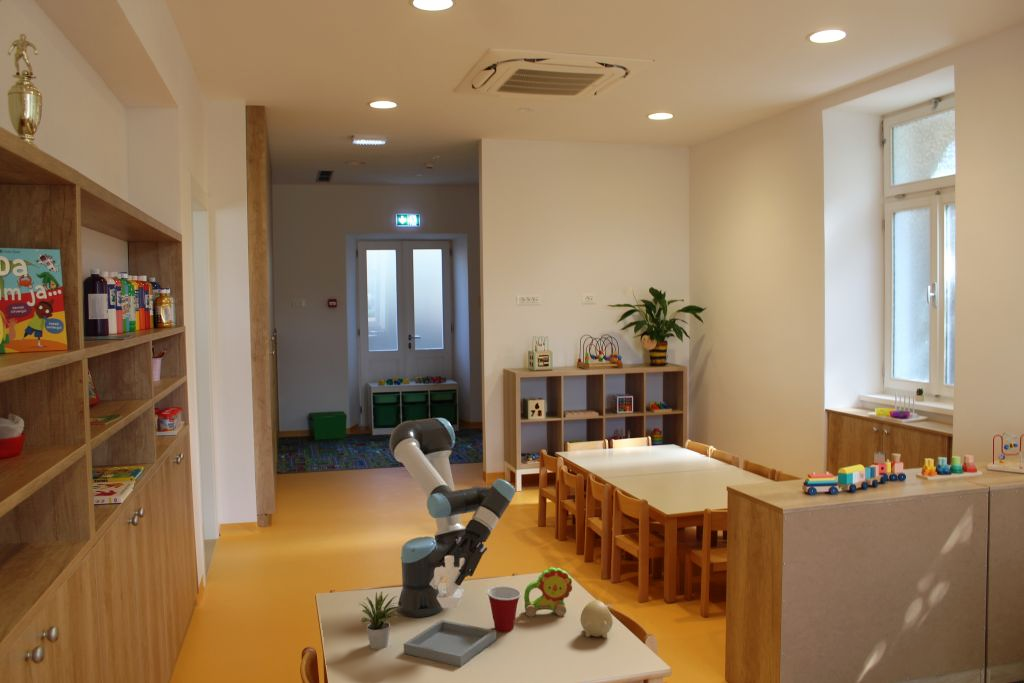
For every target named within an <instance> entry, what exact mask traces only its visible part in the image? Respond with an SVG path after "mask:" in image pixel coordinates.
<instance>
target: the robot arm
mask: <svg viewBox="0 0 1024 683" xmlns="http://www.w3.org/2000/svg"><path fill="white" fill-rule="evenodd" d="M455 444H456V434H455V431H454V427H453V426H452V425H451V423H450V421H449V420H448V419H446V418H443V417H432V418H424V419H414V420H406V421H402V422H401V423H399V424H398V425H397V426H396V427H394V429H393V431H392V432H391V434H390V438H389V449H390V452H391V454H392V456H393V458H394V459H395V461H397V462H399V463H402V465H403V466H404V467H405V469H406V470H407V471H408V474H410V475H411V477H412V479H414V482H416V484H417V485H418V487H419V488H420V489H421V491H422V492H423V493H424V495H425V496H426V498H427V500H426V509H427V510H428V511H427V512H428V514H429V516H430V517H432V518H433V519H435V522H436V526H437V527H436V528H437V530H436V532H435V534H434V537H432V536H420V537H414V538H412V539H409V540H408V541H406V542H405V543H404V544H403V545H402V547H401V556H400V560H401V578H402V579H401V581H402V582H401V583H402V585H401V586H402V587H401V592H400V595H399V599H398V602H397V607H399V608H397V613H398V614H399V615H400V616H405V617H407V618H408V617H409V618H423V617H430V616H433V615H437V614H439V613H440V612H441V611H443V609H444V608H442V607H441V605H440V603H439V602H438V600H437V598H436V597H437V595H438V594H439V592H440V589H439V586H440V584H441V582H442V581H443V579H444V578H445V577H440V584H439V585H438V586H436V585H435V583H434V570H435V568H436V567H445V556H449V555H451V556H454V567H459V566H460V558H464V559H465V562H464V564H463V565H462V567H461V569H460V570H459V572H460V573H459V572H457V573H456V575H455V576H454V578H453V580H452V581H451V583H450V584H449V586H448V588H447V589H446V588H445V589H446V592H447V593H448V594H450V595H451V596H453V595H454V593H455V591H456V590H457V589H459V586H461V585H462V583H463V582H464V581H465V578H467V577H468V576H469V577H473V575H474V573H475V572H476V569H477V567H478V565H479V563H480V561H481V559H482V557H483V555H484V554H485V552H487V550H488V547H487V546H486V545H485V544H484V543H486V542H487V540H488V539H489V537H490V536H491V533H492V532H491V531H494V529H495V527H496V525H497V524H498V522H499V520H500V519H501V517H502V515H503V514H504V513H505V511H506V510H507V508H508V506H509V505H510V504H511V502H512V500H513V497H514V496H515V494H516V489H515V487H514V486H513V485H512V483H510V482H509V481H507V480H504V479H501V478H497V479H496V480H494V482H493V483H492V485H491V486H481V485H477V486H471V487H469V488H463V489H455V484H454V479H453V475H452V468H451V464H450V460H449V458H450V455H452V448H453V447H454V446H455ZM473 512H474V513H473ZM468 513H469V514H470V513H473V515H472V516H471V519H470V520H469V521H468V522H467V524H466V526H464V525H463V524H462V519H461V515H463V514H468Z"/></svg>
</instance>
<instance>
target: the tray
mask: <svg viewBox="0 0 1024 683" xmlns="http://www.w3.org/2000/svg"><path fill="white" fill-rule="evenodd" d="M496 641H497V630H496V629H489V628H484V627H479V626H474V625H469V624H465V623H459V622H455V621H448V620H444V619H440V620H439V621H437V622H436V623H433V625H431V626H429V627H428V628H426V629H424V630H423V631H421V632H420V633H418V634H416V635H415V636H413V637H412V638H411V639H409V640H407V641H405V642H404V643H403V654H404V655H408V656H412V657H417V658H420V659H421V658H422V659H426V660H430V661H434V662H437V663H438V662H439V663H443V664H447V665H450V666H454V667H460V668H462V667H463V666H465V665H466V664H467V663H468V662H470V661H471V660H472V659H474V658H475V657H477V656H478V655H479V654H480V653H482V652H483V651H485V649H487V648H488V647H490V646H491V645H492V644H494V643H495V642H496Z"/></svg>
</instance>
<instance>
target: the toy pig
mask: <svg viewBox="0 0 1024 683" xmlns="http://www.w3.org/2000/svg"><path fill="white" fill-rule="evenodd" d="M579 619H580V620H579V621H580V624H581V627H582V629H583V630H584V632H585V636H586V637H587V638H589V637H595V638H597V637H599V638H600V637H602V638H605V639H606V638H607V636H608V633H609V632H610V631H611V629H612V627H613V624H614V621H613V616H612V613H611V611H610V609H609V608H608V606H607V605H606V603H604V602H603V601H601V600H599V599H598V600H597V599H596V600H595V599H594V600H591V601H590V602H588V603H587V604H586V605H585V606H584V608H583V609H582V611H581V614H580V618H579Z"/></svg>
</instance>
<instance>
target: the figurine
mask: <svg viewBox="0 0 1024 683" xmlns="http://www.w3.org/2000/svg"><path fill="white" fill-rule="evenodd" d="M464 562H465V559H464V558H460V566H459V567H454V556H451V555H449V556H445V567H436V568H435V570H434V583H435V585H436V586H438V585H439V586H440V585H441V583H440V577H444V578H445V588H440V589H439V594H438V595H437V597H436V598H437V600H438V602H439V603H440V605H441V607H442V608H443V609H458V607H459V605H460V602H461V600H462V597H463V594H464V592H465V589H464V588H457V590H456V591H455V593H454V595H453V596H451V595H450V594H448V593H447V592H446V589H447V588H448V586H449V584H450V583H451V581H452V580H453V578H454V576H455V575H456V573H457V572H459V570H460V569H461V567H462V565H463V564H464ZM459 573H460V572H459ZM439 586H438V587H439Z"/></svg>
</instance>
